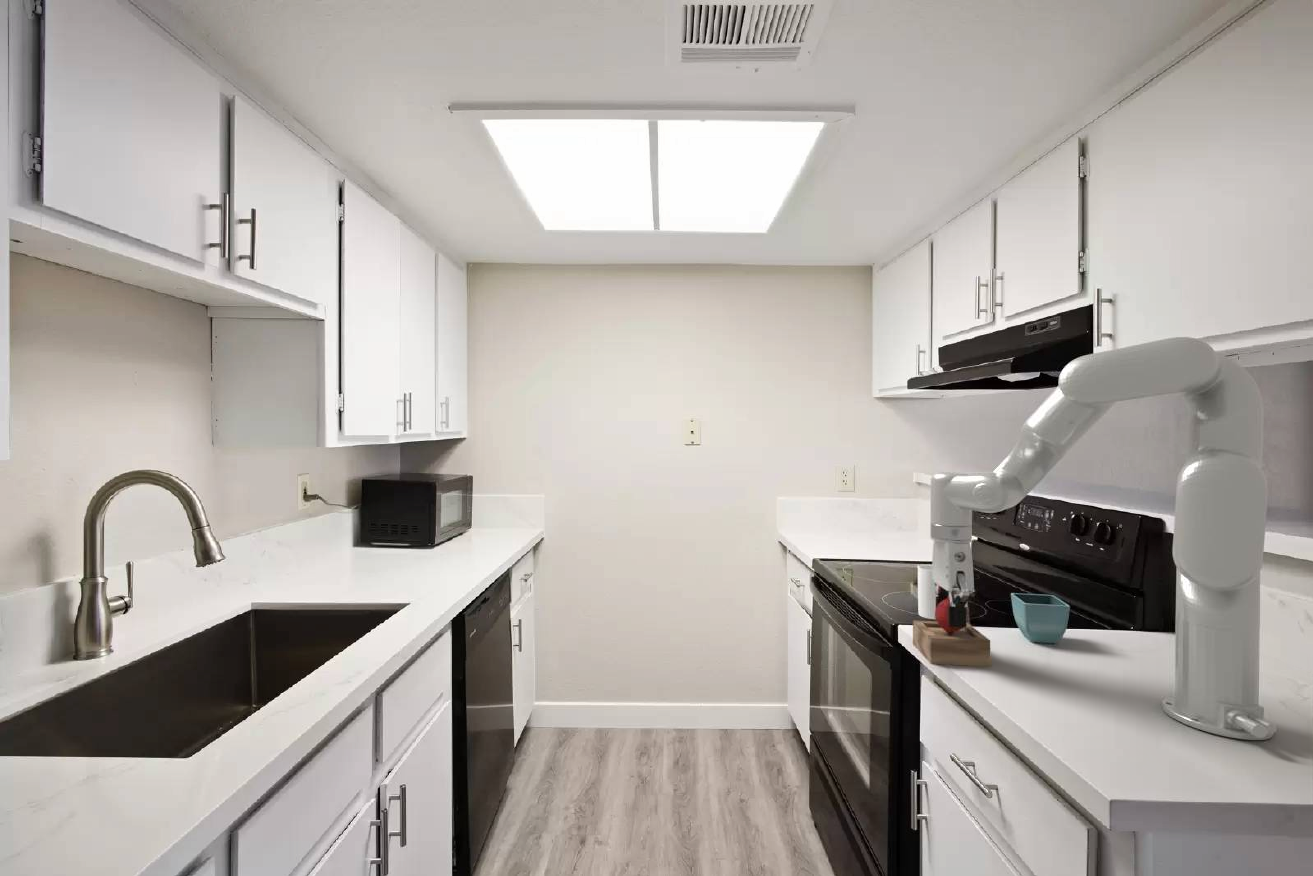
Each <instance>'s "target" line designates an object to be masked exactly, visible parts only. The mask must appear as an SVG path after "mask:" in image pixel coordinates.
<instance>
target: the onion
mask: <svg viewBox="0 0 1313 876" xmlns="http://www.w3.org/2000/svg"><path fill="white" fill-rule="evenodd" d="M948 606H951V605H950V598H949V595H948V598H947V599H946V600H943V601H942V602H940V603H939V604H938V606H937V607H936V610H935V619H936V620H935V621H937V622H938V624H939V625H940V627H941V628H943V629H944V630H945V631H946V632H948V633H949V634H952V633H954V632H956V631H958V630H960V629H961V628H963V627H950V626H949V625H948ZM967 617H968V616H967V613H966V621H967V620H968V618H967Z"/></svg>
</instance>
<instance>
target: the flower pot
mask: <svg viewBox="0 0 1313 876" xmlns="http://www.w3.org/2000/svg"><path fill="white" fill-rule="evenodd" d="M1010 599H1011V606H1012V613H1013V616H1014V620H1015V623H1016V625H1017V628H1018V629H1019V631H1020V633H1021V635H1023V636H1024V638H1026V639H1027V640H1028V641H1029V642H1030V643H1031V642H1032V643H1041V644H1043V643H1044V644H1052V643H1054V644H1058V643H1059V642H1060V640H1061V639H1062V638H1063V636H1064V635H1065V632H1066V630H1067V628H1068V621H1069V617H1070V609H1071V606H1070V605H1069V604H1067V603H1066V602H1065V601H1063V600H1061V599H1060V598H1058V597H1056V596H1055V595H1052V594H1051V595H1050V594H1037V593H1036V594H1035V593H1017V592H1016V593H1015V592H1011V593H1010Z"/></svg>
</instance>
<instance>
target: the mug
mask: <svg viewBox="0 0 1313 876" xmlns="http://www.w3.org/2000/svg"><path fill="white" fill-rule="evenodd" d="M935 590H936V586H935V582H934V580H933V575H932V564H921V565H920V564H919V565H917V606H918V607H917V609H918V610H917V611H918V612H917V614H918V616H920V617H922V618H924V619H928V620H933V621H936V619H935V610H936V594H935ZM957 591H959V588H957ZM956 596H959V595H958V594H956Z"/></svg>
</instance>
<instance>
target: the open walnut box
mask: <svg viewBox="0 0 1313 876" xmlns="http://www.w3.org/2000/svg"><path fill="white" fill-rule="evenodd" d="M912 645H913V646H914V647H915V648H916V649H917V650H918V651H919V652H920V654H921V655H922V656H923V657H924V658H925V659H926V661H927V662H928V663H930V664H936V665H937V664H938V665H952V666H953V665H954V666H955V665H956V666H959V665H960V666H972V667H974V666H977V667H991V640H990V639H989V638H988V637H986V636H985V635H983V634H982V633H981V631H978V630H977V629H976V628H975V627H973V626H972V625H971V624H969V623H968V622H966V627H963V628H961V629H960V630H958V631H956V632H954V633H952V634H949V633H948V632H946V631H945V630H944V629H943V628H941V627H940V625H939V624H938V622H937V621H936V620H912Z"/></svg>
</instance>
